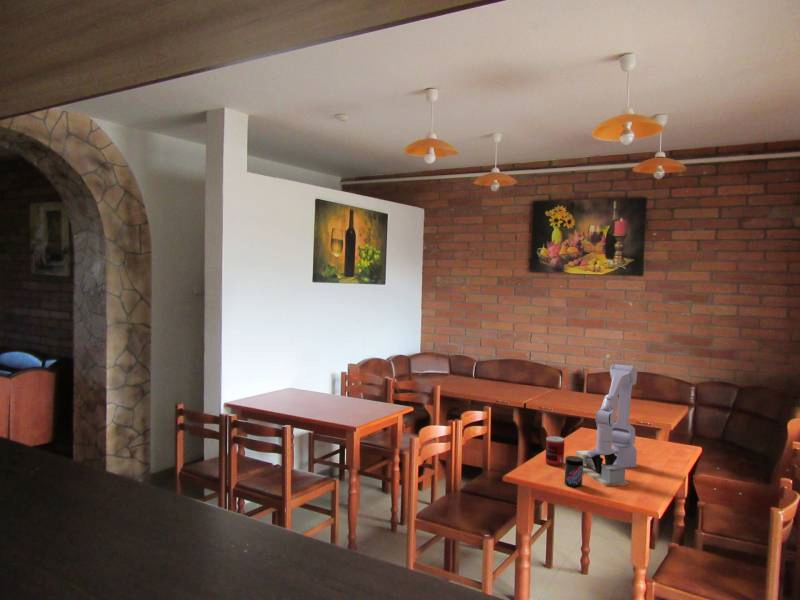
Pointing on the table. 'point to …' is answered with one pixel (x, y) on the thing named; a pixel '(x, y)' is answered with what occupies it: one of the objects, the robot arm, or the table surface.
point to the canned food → (554, 451)
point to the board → (600, 477)
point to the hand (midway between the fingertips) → (603, 472)
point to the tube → (590, 463)
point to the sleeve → (582, 454)
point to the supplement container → (573, 471)
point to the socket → (613, 473)
